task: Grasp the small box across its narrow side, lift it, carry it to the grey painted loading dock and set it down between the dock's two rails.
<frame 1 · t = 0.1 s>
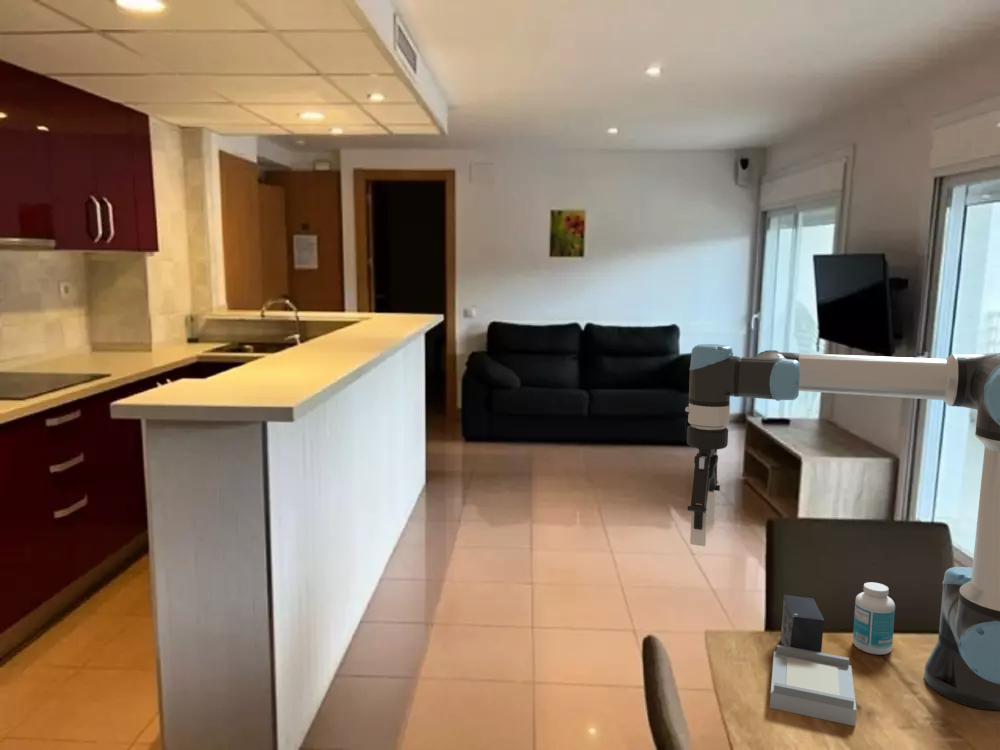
hand: (702, 533, 143), 28 cm above the table, fingers open, 13 cm apart
dock: (811, 693, 138), on the table
small box: (800, 655, 152), on the table
pill bottle: (871, 648, 155), on the table
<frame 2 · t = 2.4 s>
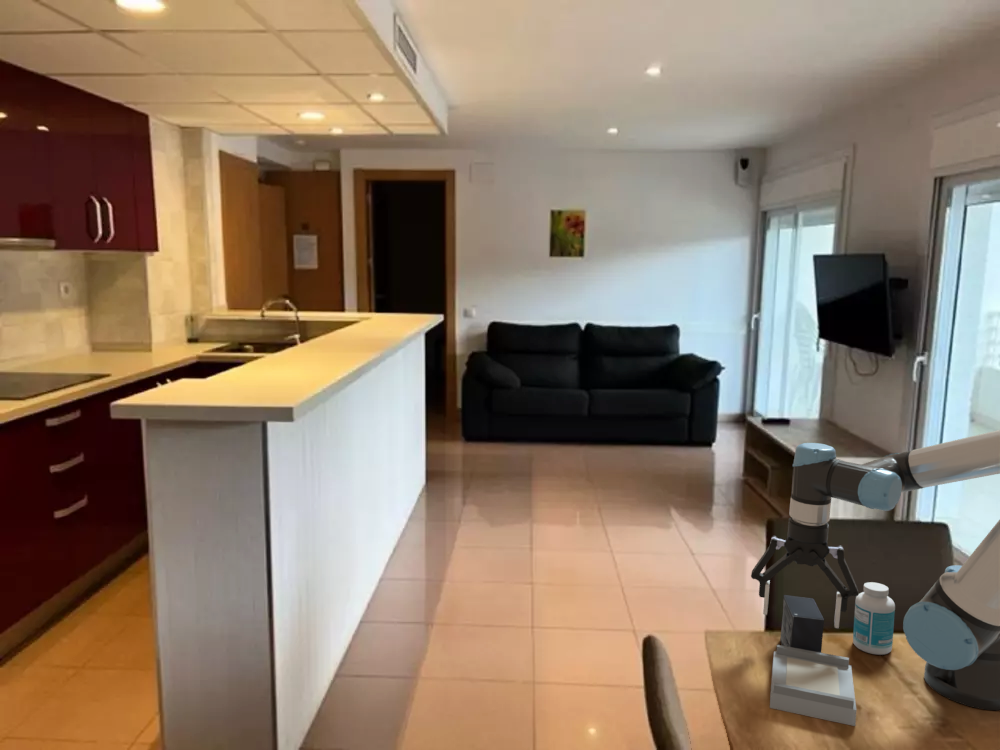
hand: (800, 618, 151), 8 cm above the table, fingers open, 13 cm apart
nothing on the table moved.
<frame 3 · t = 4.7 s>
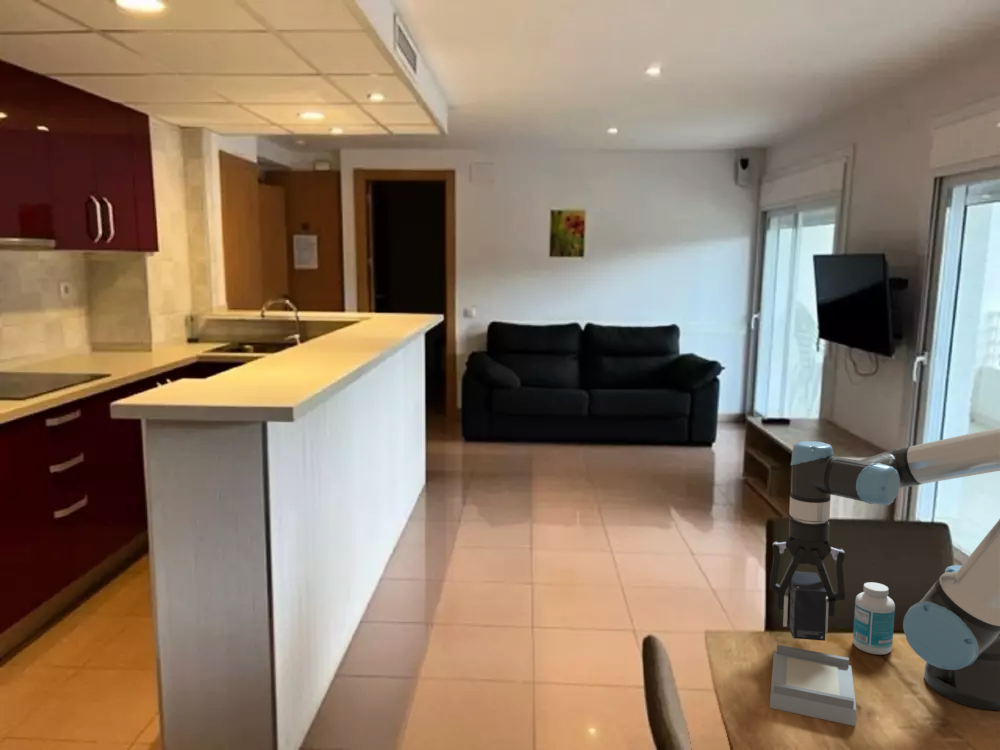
hand: (805, 626, 151), 6 cm above the table, fingers closed on small box, 7 cm apart
small box: (805, 630, 151), point 5 cm above the table, touching gripper
everything else where it was.
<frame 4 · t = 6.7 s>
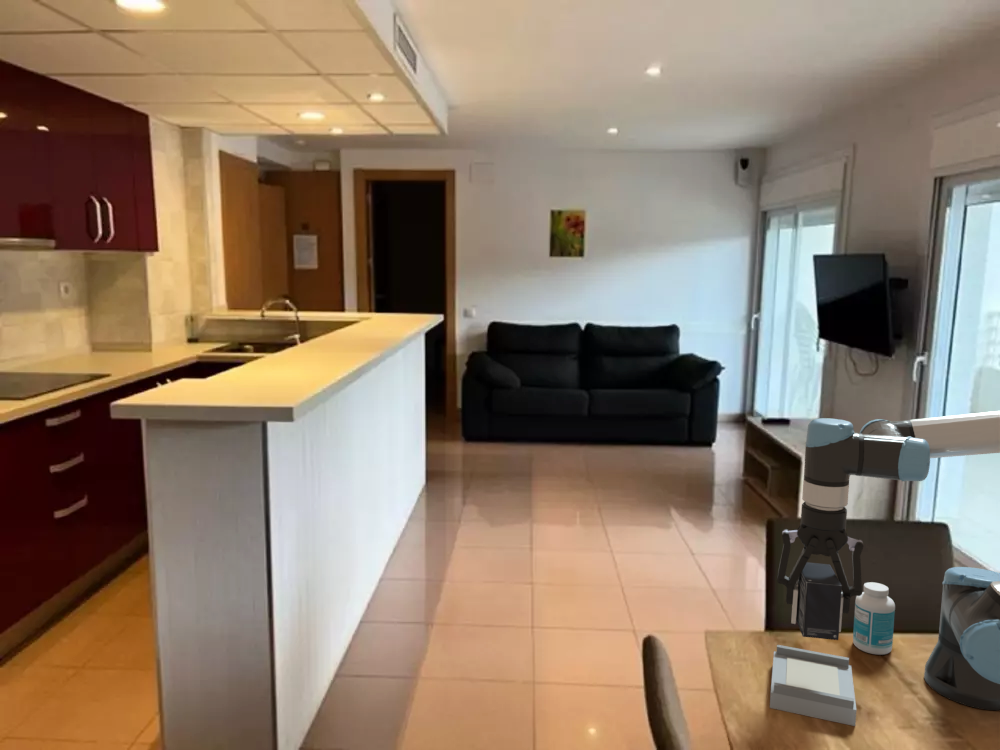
hand: (815, 624, 136), 14 cm above the table, fingers closed on small box, 7 cm apart
small box: (815, 627, 136), point 13 cm above the table, touching gripper
everything else where it was.
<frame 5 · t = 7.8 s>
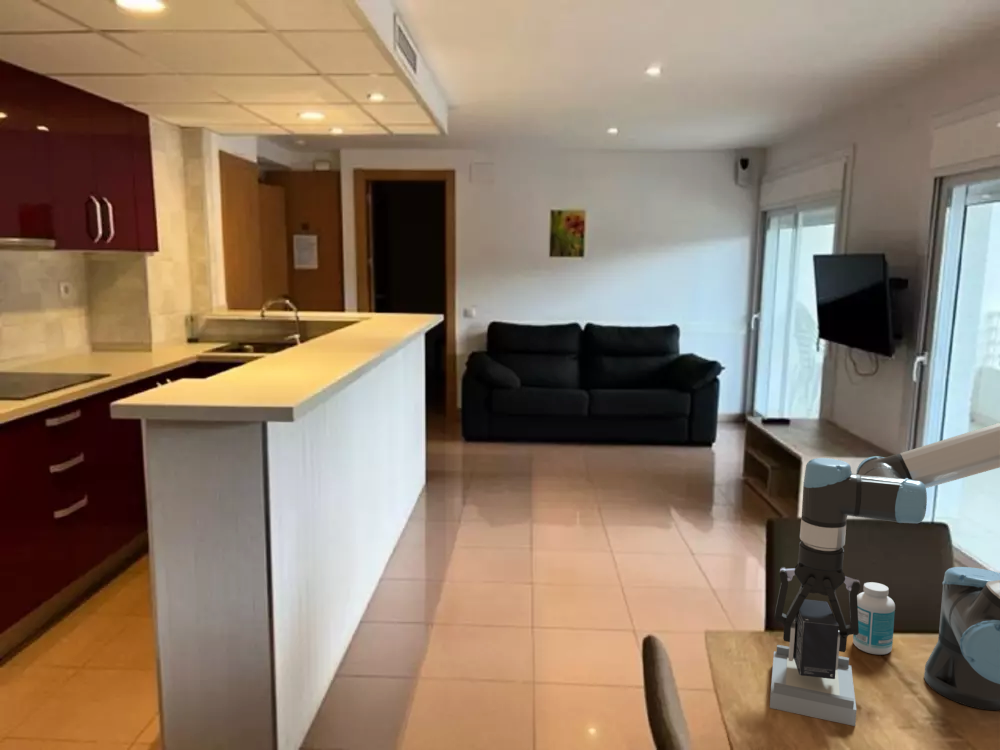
hand: (812, 661, 137), 6 cm above the table, fingers closed on small box, 7 cm apart
small box: (812, 664, 137), point 6 cm above the table, touching gripper
everything else where it was.
when the fingers open (4 cm above the table, at t = 8.7 s): small box stays where it is, resting on dock.
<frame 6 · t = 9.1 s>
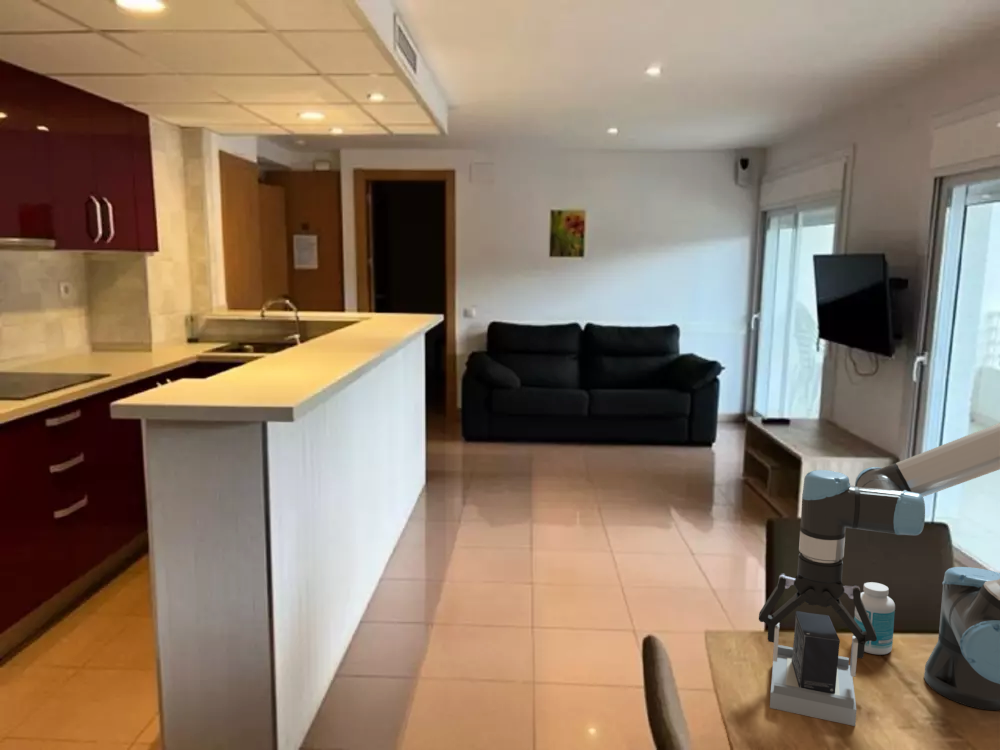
hand: (813, 665, 137), 6 cm above the table, fingers open, 13 cm apart
small box: (813, 678, 137), point 3 cm above the table, touching dock
everything else where it was.
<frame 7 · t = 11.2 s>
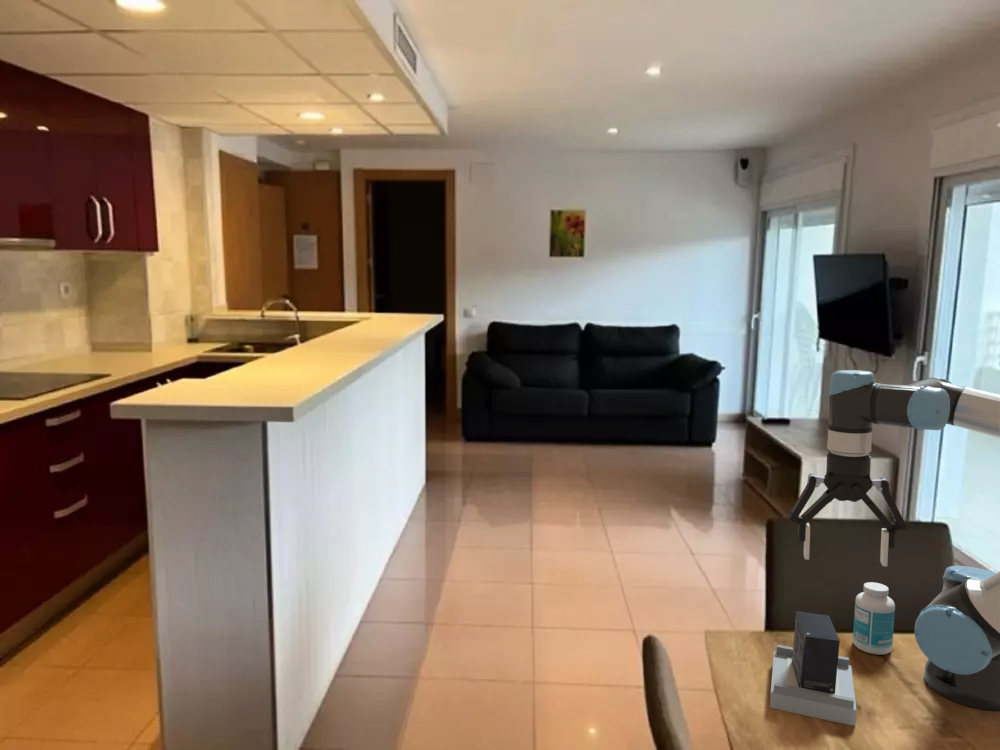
hand: (844, 560, 141), 23 cm above the table, fingers open, 13 cm apart
nothing on the table moved.
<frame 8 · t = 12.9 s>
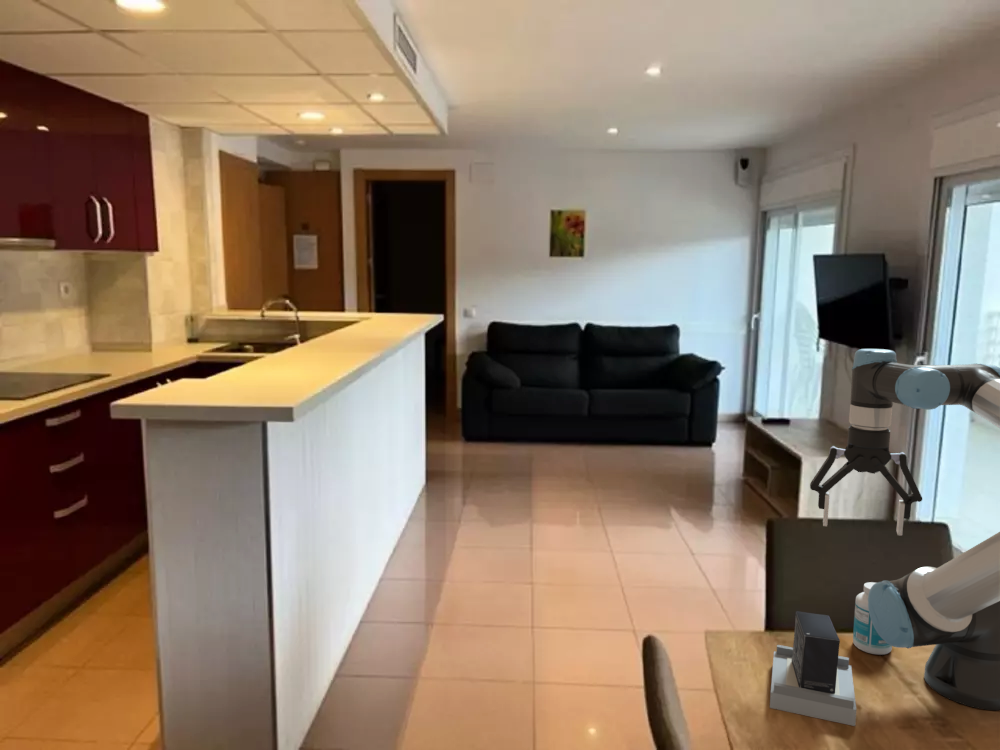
hand: (861, 528, 149), 27 cm above the table, fingers open, 13 cm apart
nothing on the table moved.
at the end: small box inside the target area on the dock (0.2 cm from its centre), point 3.0 cm above the dock's base; small box tilted 0°; the gripper is holding nothing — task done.
